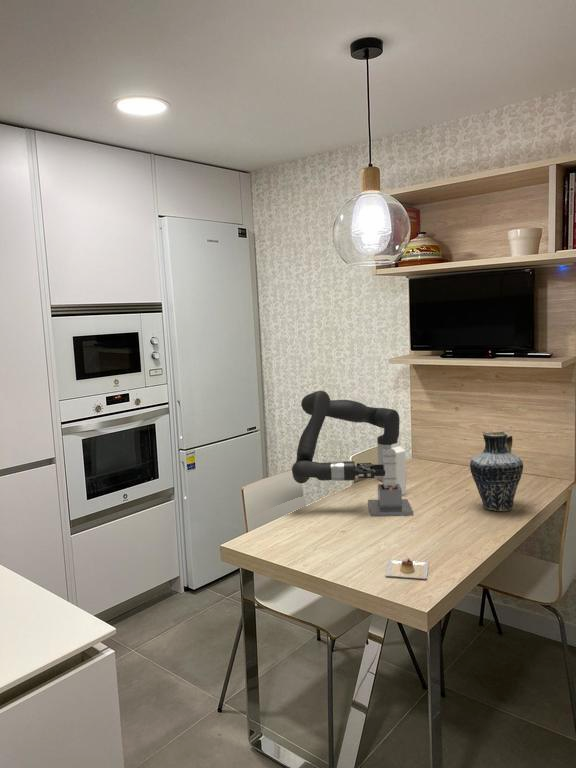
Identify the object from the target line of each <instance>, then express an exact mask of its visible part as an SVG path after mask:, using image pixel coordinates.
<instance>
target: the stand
mask: <svg viewBox="0 0 576 768" xmlns="http://www.w3.org/2000/svg"><path fill="white" fill-rule="evenodd" d="M402 496H403V495H402V490H401V488H400V485H399V484H396V489H392V487H389V489H383V483H380V484H377V499H367V505H368V508H369V513H370V517H402V515H404V516H403V517H406V516H405V515H413V516H414V510H413V507H412V506H411V504H410V501H409V499H407V498H403V497H402Z"/></svg>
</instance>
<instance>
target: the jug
mask: <svg viewBox="0 0 576 768" xmlns="http://www.w3.org/2000/svg"><path fill="white" fill-rule="evenodd" d="M482 436H483V440H484V442H485V443H484V444H485V446H484V449H483V451H481V452H480V453H478V454H476V455H475V456H473V457H472V458H471V460H470V462H469V468H470V473H471V476H472V479H473V481H474V483H475V486H476V488H477V491H478V494H479V496H480V499H481V502H482V506H483V507H484V508H485V509H487V510H491V511H497V512H506V511H510V510H512V509H513V508H514V499H515V495H516V493H517V489H518V486H519V483H520V481H521V478H522V475H523V471H524V462H523V460H522V459H521V457H519V455H516V454H514V453H513V452H512V447H513V442H514V441H513V439H514V438H513V436H512V434H509V433H508V432H507V431H504V430H503V431H501V430H490V431H484V432H482Z"/></svg>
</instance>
